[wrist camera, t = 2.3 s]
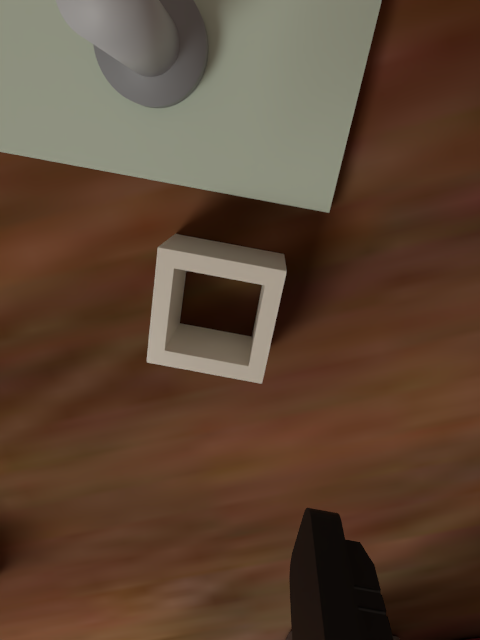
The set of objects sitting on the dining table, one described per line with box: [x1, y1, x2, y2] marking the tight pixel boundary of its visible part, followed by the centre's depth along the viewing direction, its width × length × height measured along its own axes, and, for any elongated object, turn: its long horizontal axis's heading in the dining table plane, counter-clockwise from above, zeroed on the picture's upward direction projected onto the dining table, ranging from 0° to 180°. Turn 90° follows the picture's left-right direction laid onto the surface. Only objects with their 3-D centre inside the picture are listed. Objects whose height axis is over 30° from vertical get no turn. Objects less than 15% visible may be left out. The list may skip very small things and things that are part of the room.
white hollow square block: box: [147, 234, 287, 384], centre depth 23 cm, size 6×6×4 cm
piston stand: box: [0, 0, 382, 213], centre depth 17 cm, size 20×12×8 cm, turn 80°
